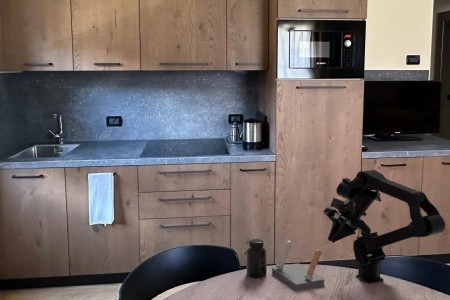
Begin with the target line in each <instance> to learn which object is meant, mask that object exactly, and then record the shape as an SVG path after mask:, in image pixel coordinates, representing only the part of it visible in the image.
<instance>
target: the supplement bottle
mask: <svg viewBox="0 0 450 300" xmlns="http://www.w3.org/2000/svg"><path fill="white" fill-rule="evenodd" d="M248 243H249V247H248V248H247V249H246V253H245V254H246V275H247V276H248V277H250V278H251V279H261V278H264V277H266V276H267V272H268V271H267V269H268V268H267V249H266V248H265V247H264V240H263V239H262V238H252V239H249V241H248Z"/></svg>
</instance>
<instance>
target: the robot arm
mask: <svg viewBox="0 0 450 300" xmlns="http://www.w3.org/2000/svg"><path fill="white" fill-rule="evenodd" d="M381 193H383V194H384V195H387V196H390V197H392V198H394V199H397V200H399V201H402V202H404V203H406V204H407V206H408V209H409V217H410V219H411V221H410V222H409V224H407V225H406V226H403V227H400V228H398V229H394V230H391V231H389V232H386V233H383V234H379V235H378V231H374V232H371V231H372V230H371V228H370V226H369V225H368V224H367V223H366V221H364V220H363V219H361V218H362V217H366V216H367V215H368V214H367V212H366V211H367V210H368V209H369V208H370V206H371V205H372V204H373V203H374V202H375V201H377V202H378V203H380V202H382V198H381ZM336 194H337V196H339V197H341V198H343V199H345V200H342V199H339V198H336V197H332V201H331V203H330V205H329V206H328V207H326V208H324V210H322V211H323V214H324V215H325V216H326V217H327V218H328V219H329V221H331V223H332V225H331V228H330V232H329V233H328V237H327V240H328V241H329V242H331V243H336V242H338V241H341V240H343V239H345V238H347V237H350V236H352V235H356V234H357V233H356V231H357V230H359V231H360V236H357V237H356V238H355V240H354V241H353V244H352V248H353V252H354V258H355V262H358V263H359V264H358V274H355V277H356V278H357V279H360V280H361V281H363V282H365V283H367V284H371V283H376V282H382V281H384V278H383V277H381V262H382V261H385V259H386V256H387V255H386V253H385V251H384V250H383V249H384V248H385V247H387V246H390V245H393V244H396V243H400V242H403V241H406V240H409V239H413V238H426V237H430V236H434V235H438V234H442V233H444V231H445V229H446V222H445V219H444V218H443V216H441V214H440V212H439V210H438V208H437V207H436V206H435V205H434V204H433V203H431V201H430V200H429V199H428V198H429V197H427V195H426V194H425V193H424V192H423V191H420V190H416V189H413V188H411V187H408V186H406V185H403V184H400V183H398V182H395V181H394V180H391V179H388V178H387V177H385V176H384V174H383V173H381V172H380V171H378V170H376V169H367V170H361V171H360V170H359V171H358V172H357V174H356V175H355V177H354V178H353V179H350V178H348V177H343V178H342V179H341V182H339V184H338V186H337V187H336ZM421 210H422V211H423V212H424V213H425V214H426V215H422V213H421Z"/></svg>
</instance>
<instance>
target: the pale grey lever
mask: <svg viewBox="0 0 450 300" xmlns="http://www.w3.org/2000/svg"><path fill="white" fill-rule="evenodd" d="M292 246H293V242H292V241H291V240H287V241H286V242H285V245H284V247H283V250H282V252H281V254H280V256H279V257H280V258H279V260H278V262H277V263H276V264H275V267H276V268H278V269H279V270H283V266H285V265H284V264H285V261H286V260H287V257H288V254H289V252H290V250H291V248H292Z"/></svg>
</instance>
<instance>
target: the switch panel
mask: <svg viewBox="0 0 450 300" xmlns="http://www.w3.org/2000/svg"><path fill="white" fill-rule="evenodd" d="M308 269H309V268H307V267H305V266H303V265H302V264H300V263H293V264H287V265H283V270H279V269H278V268H276V266H275V267H272V268H271V274H272V275H273V276H275V277H277V278H278V279H279V280H281V281H282V282H283V283H285V284H286V285H287V286H289V287H290V288H292V289H293V290H294V291H296V292H297V291H301V290H305V289H311V288H317V287H322V286H325V278H323V277H322V276H320V275H318V274H317V273H316V272H314V273H313V276H312V277H313V279H312V280H311V281H309V280H308V279H306V278H305V277H304V275H305V274H306V273H307V271H308Z"/></svg>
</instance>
